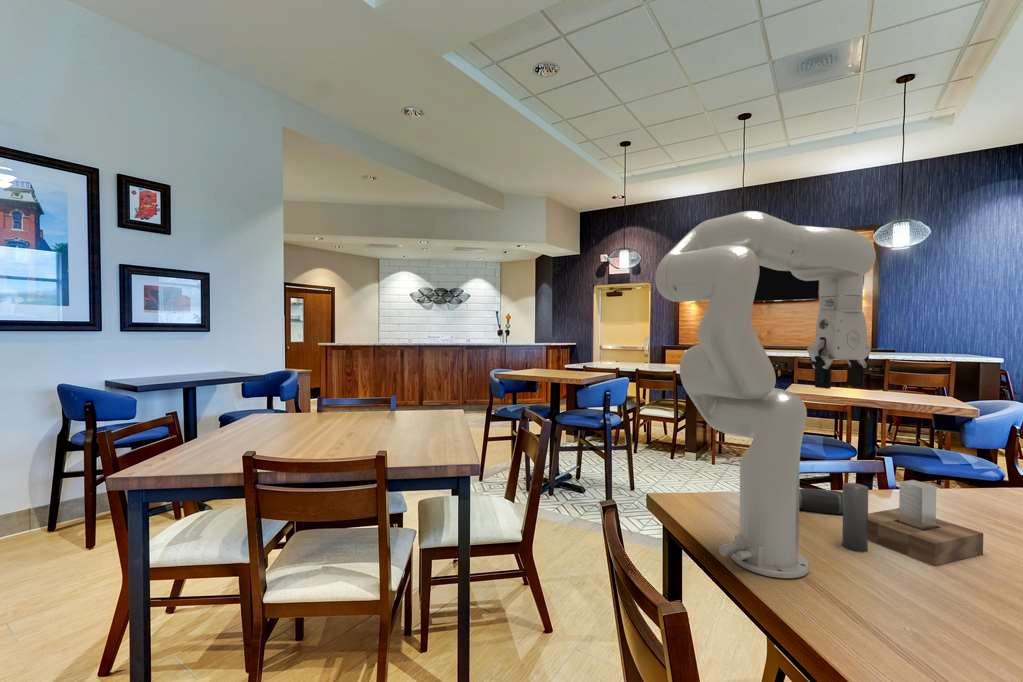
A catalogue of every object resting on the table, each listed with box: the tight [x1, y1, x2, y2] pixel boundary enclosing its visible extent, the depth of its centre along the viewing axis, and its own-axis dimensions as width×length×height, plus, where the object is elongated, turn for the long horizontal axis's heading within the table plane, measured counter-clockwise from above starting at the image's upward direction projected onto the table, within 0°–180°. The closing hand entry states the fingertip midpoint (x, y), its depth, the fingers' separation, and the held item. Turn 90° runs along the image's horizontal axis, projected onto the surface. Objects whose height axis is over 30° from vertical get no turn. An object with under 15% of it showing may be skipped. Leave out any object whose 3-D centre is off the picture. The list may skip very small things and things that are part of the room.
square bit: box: [898, 479, 937, 531], centre depth 94 cm, size 4×4×12 cm
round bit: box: [841, 482, 869, 553], centre depth 92 cm, size 4×4×12 cm
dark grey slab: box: [799, 488, 843, 515], centre depth 110 cm, size 5×19×20 cm
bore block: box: [868, 507, 984, 567], centre depth 94 cm, size 14×14×4 cm
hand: (839, 387), depth 100 cm, fingers open, 9 cm apart
